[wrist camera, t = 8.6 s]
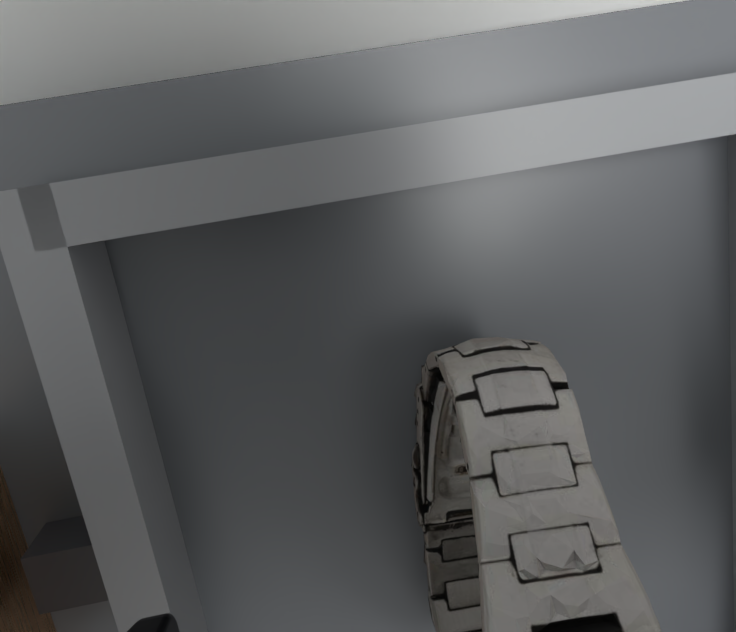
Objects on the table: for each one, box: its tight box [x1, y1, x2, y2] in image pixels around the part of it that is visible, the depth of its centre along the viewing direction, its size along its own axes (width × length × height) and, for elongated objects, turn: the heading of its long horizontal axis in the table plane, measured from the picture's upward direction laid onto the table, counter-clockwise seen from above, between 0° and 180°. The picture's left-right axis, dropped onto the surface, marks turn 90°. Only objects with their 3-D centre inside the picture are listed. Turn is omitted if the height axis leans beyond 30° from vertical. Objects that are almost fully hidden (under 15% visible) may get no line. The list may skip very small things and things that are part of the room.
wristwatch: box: [411, 337, 662, 632], centre depth 9 cm, size 4×6×5 cm, turn 5°
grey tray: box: [0, 0, 736, 632], centre depth 9 cm, size 14×20×5 cm
